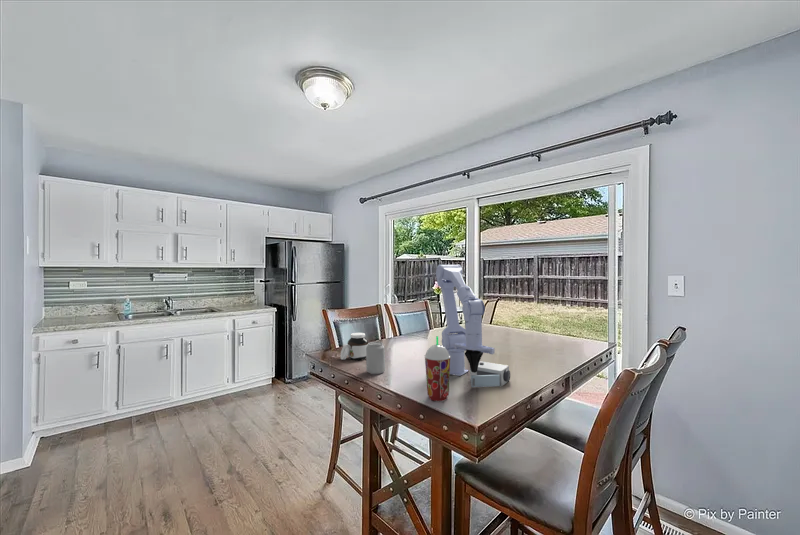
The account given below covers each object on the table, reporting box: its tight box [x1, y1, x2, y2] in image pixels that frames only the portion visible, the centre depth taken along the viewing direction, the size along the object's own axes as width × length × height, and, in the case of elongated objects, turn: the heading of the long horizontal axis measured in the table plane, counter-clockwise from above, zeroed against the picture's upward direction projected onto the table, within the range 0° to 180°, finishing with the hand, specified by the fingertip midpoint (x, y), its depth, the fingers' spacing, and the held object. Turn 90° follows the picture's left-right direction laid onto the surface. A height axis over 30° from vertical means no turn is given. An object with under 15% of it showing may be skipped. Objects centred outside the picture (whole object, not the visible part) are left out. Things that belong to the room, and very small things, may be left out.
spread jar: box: [340, 332, 369, 361], centre depth 160 cm, size 12×11×12 cm
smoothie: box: [424, 335, 451, 402], centre depth 110 cm, size 8×8×20 cm
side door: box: [470, 374, 503, 388], centre depth 119 cm, size 11×2×4 cm, turn 94°
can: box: [365, 341, 386, 375], centre depth 139 cm, size 8×8×12 cm
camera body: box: [469, 360, 511, 387], centre depth 127 cm, size 13×8×6 cm, turn 54°
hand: (474, 371), depth 122 cm, fingers closed
